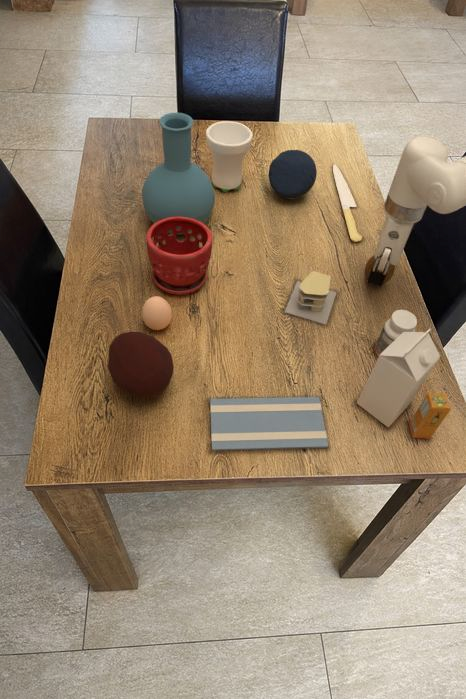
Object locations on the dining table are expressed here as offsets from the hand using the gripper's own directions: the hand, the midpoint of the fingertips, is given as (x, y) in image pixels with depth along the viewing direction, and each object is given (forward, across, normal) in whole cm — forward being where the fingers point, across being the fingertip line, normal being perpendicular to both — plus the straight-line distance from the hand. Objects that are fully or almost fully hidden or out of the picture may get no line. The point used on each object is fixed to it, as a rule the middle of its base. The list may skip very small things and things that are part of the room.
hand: (378, 272), depth 109 cm
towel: (+3, -43, +9) cm, 44 cm away
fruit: (+3, 0, 0) cm, 3 cm away
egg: (+3, -32, +37) cm, 49 cm away
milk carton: (+3, -31, -9) cm, 32 cm away
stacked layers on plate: (+3, -12, +11) cm, 17 cm away
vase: (+3, -1, +48) cm, 48 cm away
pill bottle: (+3, -18, -7) cm, 19 cm away
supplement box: (+3, -33, -16) cm, 37 cm away
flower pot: (+3, -18, +39) cm, 43 cm away
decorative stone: (+3, +22, +28) cm, 36 cm away
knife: (+3, +26, +14) cm, 30 cm away
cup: (+3, +18, +44) cm, 48 cm away
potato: (+3, -45, +33) cm, 56 cm away
